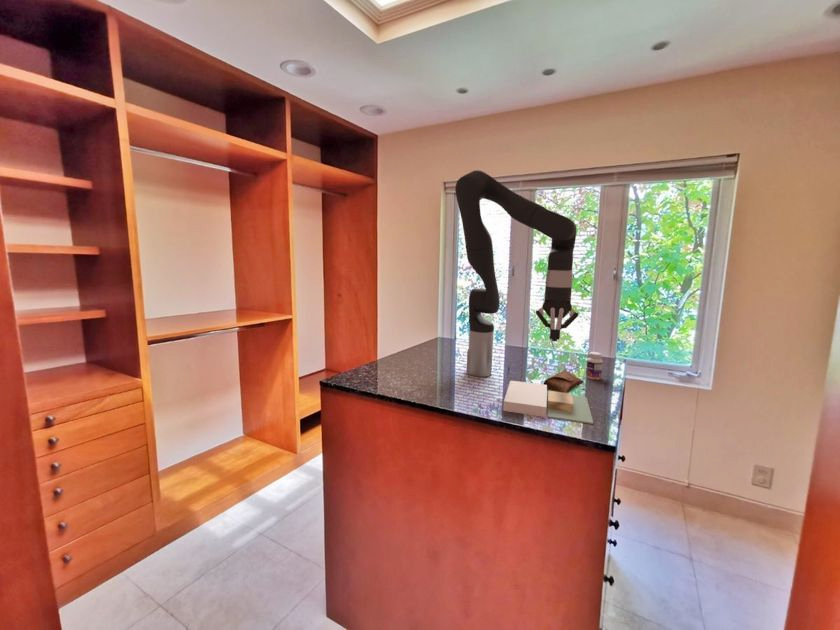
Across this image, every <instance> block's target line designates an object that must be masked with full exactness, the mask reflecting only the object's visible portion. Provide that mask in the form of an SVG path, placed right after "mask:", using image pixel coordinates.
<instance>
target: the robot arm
mask: <svg viewBox="0 0 840 630" xmlns="http://www.w3.org/2000/svg"><path fill="white" fill-rule="evenodd" d="M455 197H456V202H457V205H458V209H459V213H460V217H461V218H460V219H461V222H462V229H463V230H462V231H463V235H464V241H465V242H464V243H465V250H466V258H467V261H468V263H469V265H470V266H471V267H472V269H473V271H474V272H475V273H476V274H477V275H478V276H479V278H480V279H481V282H483V285H484V288H479V287H478V288H477V287H475V288H473V289H472V290H470V293H469V296H468V326H469V330H468V331H469V332H468V334H469V335H468V349H467V351H466V353H467V354H466V373H465V374H466V375H470V376H473V377H480V378H483V377H489V376H491V375H492V372H493V371H492V370H493V368H492V367H493V349H494V332H495V331H494V329H495V325H494V323H493V322H491V321H489V320H487V319H486V318H485V317H484V316H483V315H482V314H488V315H489V314H490V315H491V314H492V315H493V314H497V313H498V310H499V309H500V292H499V289H498V283H497V277H496V271H495V269H496V268H495V260H494V259H495V258H494V250H493V249H494V248H493V246H494V245H493V239H492V236H491V233H490V232H489V230H488V229H487V227H486V225H485V223H484V222H483V218H482V214H481V204H480V203H481V200H482V199H484V200H488V201H491V202H494V203H495V204H497V205H498V206H500V207H501V209H503V210H504V211H505V212H506V213H507V215H509V217H511V218H512V219H513V220H514V221H516V222H518V223H520V224H522V225H524V226H527V227H529V228H531V229H532V230H535V231H538V232H540V233H541V234H543V235H545V236H546V237H548V238H550V239H551V245H550V246H551V247H550V251H549V254H548V256H547V257H548V258H547V271H546V274H545V275H546V276H545V283H544V284H545V287H544V288H545V289H544V302H543V304H542V305H541V306H540V308H538V309H535V315H536V316H537V318H539V320H540V321H541V323H542V324H543V325H544V326H545V328H549V338H550V340H551V342H558V341H559V340H560V337H561V330H562V329H567V328H568V327H569V326H570V325H571V324H572V323H573V322H574V321H575V320H576V319H577V318H578V317H579V312H577V311H576V310H575V309H573V305H572V303H571V301H572V287H573V264H574V249H575V245H576V239H577V238H576V237H577V225H576V222H575V221H574V220H572V219H571V218H569V217H567V216H565V215H562V214H560V213H558V212H555V211H553V210H549V209H548V208H547V207H545V206H543V205H541V204H538V203H536V202H534V201H533V200H530V199H528V198H526V197H525V196H522V195H520V194H518V193H516V192H515V191H513V190H511V189H510V188H508V187H506V186H505V185H504V184H502V183H501V182H499V181H498V180H496V179H495V178H494V177H492V176H491V175H489V174H488V173H486V172H485V171H483V170H478V169H477V170H472V171H470V172H469V173H467V174H464V175H461V177H460V178H459V179H458V180H457V181H456V184H455ZM544 312H545V313H544ZM544 314H546V315H547V316H548V318H549V319H550V322H548V320H547V318H545V316H544ZM567 315H569V317H568V318H567V319H566V320H565V321H564V322H563V319H564V318H565V317H566V316H567ZM555 321H556V322H555ZM562 322H563V323H562Z"/></svg>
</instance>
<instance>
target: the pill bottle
mask: <svg viewBox="0 0 840 630" xmlns="http://www.w3.org/2000/svg"><path fill="white" fill-rule="evenodd" d="M601 357H602V353H601V352H597V351H590V352H589V357H587V359H586V369H585V377H586V378H588V379H591V380H595V379H596V380H601V378H602V373H603V372H602V371H603V363H604V362H603V359H602V358H601Z"/></svg>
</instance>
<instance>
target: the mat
mask: <svg viewBox="0 0 840 630" xmlns="http://www.w3.org/2000/svg"><path fill="white" fill-rule="evenodd" d="M572 398H573V412H568V411H561V410H554V409H548V408H547V418H551V419H557V420H562V421H563V420H564V421H571V422H576V423H581V424H583V423H584V424H590V425H593V424H594V420H593V416H592V413H591V412H592V411H591V409H590V405H589V402H588V398H587V397H585V396H580V395H572Z"/></svg>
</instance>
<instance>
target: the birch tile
mask: <svg viewBox="0 0 840 630" xmlns="http://www.w3.org/2000/svg"><path fill="white" fill-rule="evenodd" d="M572 396H573V394H572V393H569V392H567V393H562V392H558V391H554V390H548V392H547V406H546V409H547V410H548V409H554V410H561V411H568V412H573V398H572Z"/></svg>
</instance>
